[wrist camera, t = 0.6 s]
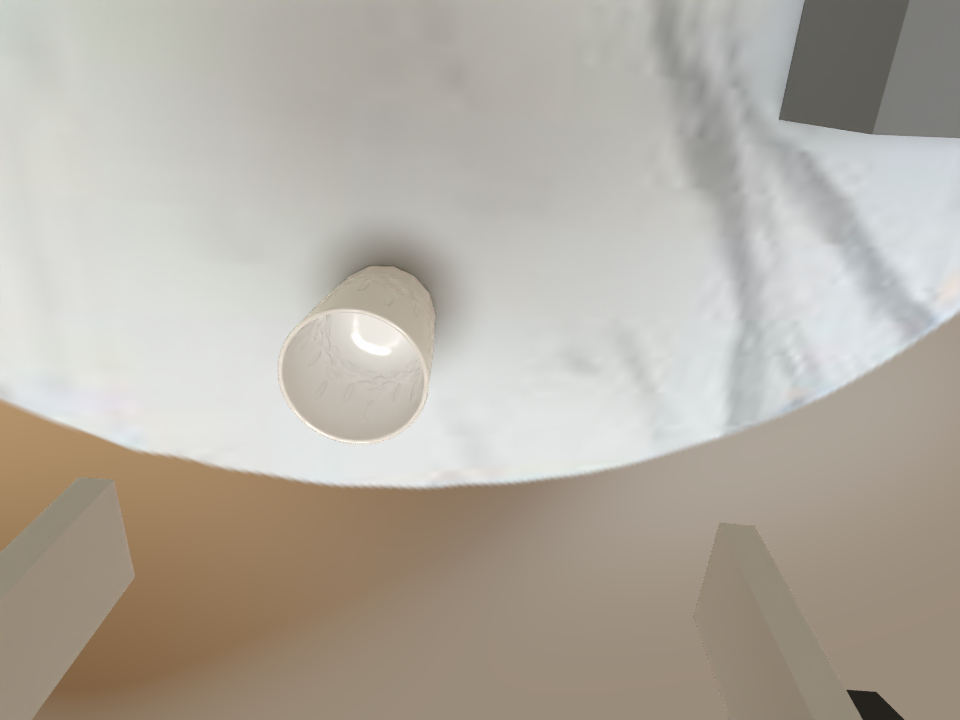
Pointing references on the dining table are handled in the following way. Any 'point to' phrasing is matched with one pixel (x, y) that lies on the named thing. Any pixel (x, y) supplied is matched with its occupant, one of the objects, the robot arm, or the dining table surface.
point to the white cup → (362, 357)
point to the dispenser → (877, 67)
